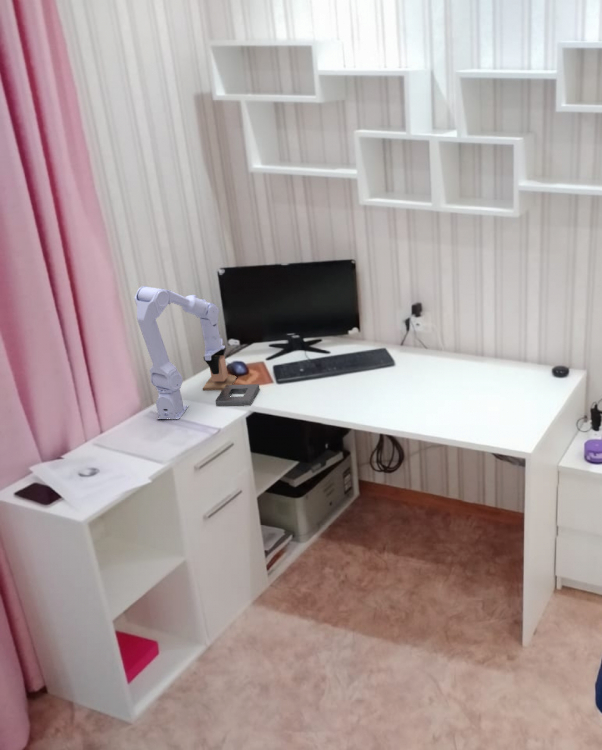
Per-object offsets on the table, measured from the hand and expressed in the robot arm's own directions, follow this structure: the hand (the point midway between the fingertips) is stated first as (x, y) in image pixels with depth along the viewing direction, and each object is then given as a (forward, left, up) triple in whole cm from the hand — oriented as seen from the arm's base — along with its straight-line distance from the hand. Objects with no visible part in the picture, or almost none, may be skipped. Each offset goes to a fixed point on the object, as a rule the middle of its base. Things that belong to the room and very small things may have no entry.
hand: (218, 370), depth 309 cm
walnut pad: (0, 0, -5) cm, 5 cm away
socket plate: (-11, -10, -5) cm, 16 cm away
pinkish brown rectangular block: (0, 0, -3) cm, 3 cm away
